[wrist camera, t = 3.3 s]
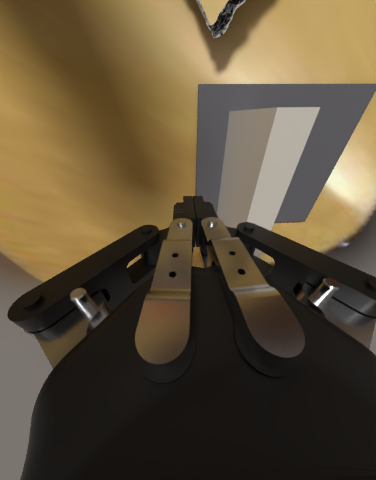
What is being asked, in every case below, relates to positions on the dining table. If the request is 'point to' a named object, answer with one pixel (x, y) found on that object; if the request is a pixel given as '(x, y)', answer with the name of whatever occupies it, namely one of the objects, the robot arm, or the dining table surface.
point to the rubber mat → (316, 148)
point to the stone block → (261, 162)
